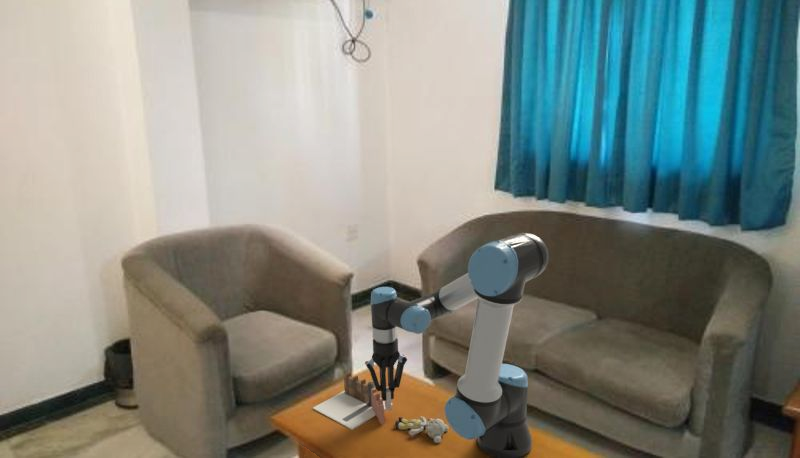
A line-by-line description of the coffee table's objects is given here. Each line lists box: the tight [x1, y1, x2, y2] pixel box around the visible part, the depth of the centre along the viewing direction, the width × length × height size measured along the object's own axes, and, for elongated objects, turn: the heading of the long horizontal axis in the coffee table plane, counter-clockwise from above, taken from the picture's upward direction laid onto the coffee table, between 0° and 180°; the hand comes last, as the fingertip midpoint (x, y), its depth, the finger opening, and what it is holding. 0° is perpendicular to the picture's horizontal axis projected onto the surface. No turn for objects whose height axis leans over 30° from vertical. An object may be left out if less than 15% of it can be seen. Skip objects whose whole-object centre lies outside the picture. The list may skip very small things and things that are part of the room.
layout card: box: [312, 390, 394, 430], centre depth 188 cm, size 18×18×1 cm
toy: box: [394, 415, 450, 444], centre depth 174 cm, size 9×6×15 cm
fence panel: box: [371, 387, 385, 425], centre depth 181 cm, size 10×1×7 cm, turn 18°
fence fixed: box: [343, 372, 375, 406], centre depth 191 cm, size 13×2×8 cm, turn 48°
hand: (388, 408), depth 182 cm, fingers closed
